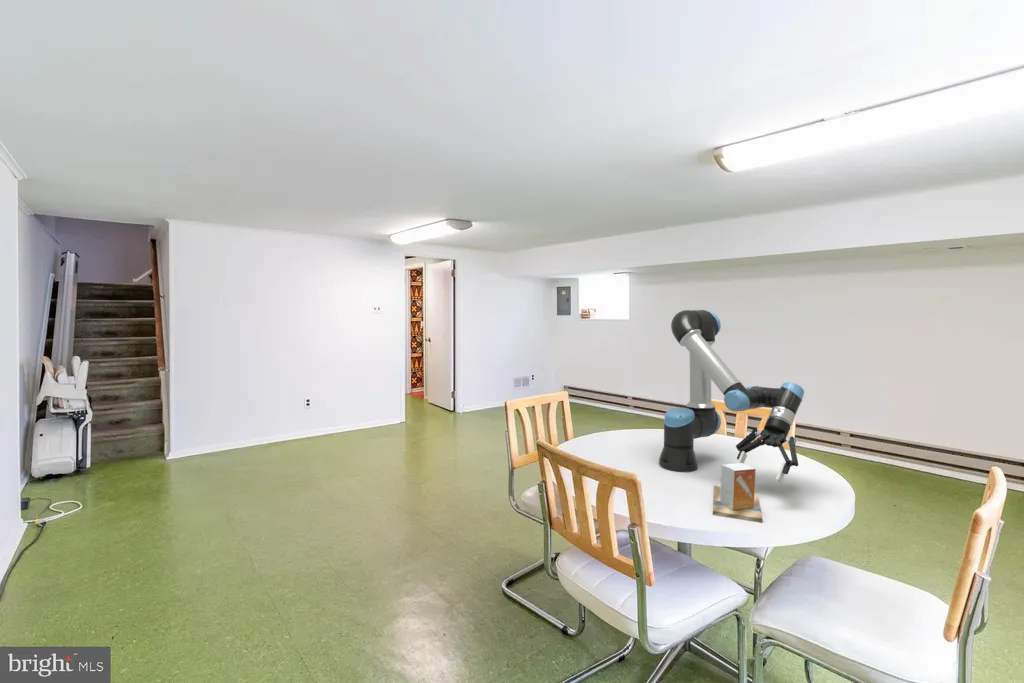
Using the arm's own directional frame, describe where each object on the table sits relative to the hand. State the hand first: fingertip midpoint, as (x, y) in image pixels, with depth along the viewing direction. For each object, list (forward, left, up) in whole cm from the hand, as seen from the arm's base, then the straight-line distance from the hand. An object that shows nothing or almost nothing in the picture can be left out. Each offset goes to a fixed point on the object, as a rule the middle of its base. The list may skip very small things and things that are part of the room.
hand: (757, 475), depth 161 cm
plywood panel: (-6, -6, -9) cm, 13 cm away
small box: (-6, -11, -8) cm, 15 cm away
